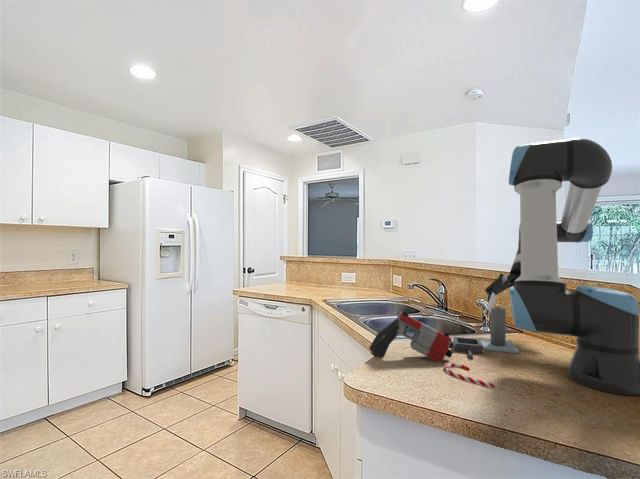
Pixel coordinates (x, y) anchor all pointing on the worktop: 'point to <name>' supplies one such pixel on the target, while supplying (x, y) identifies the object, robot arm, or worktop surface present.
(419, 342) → the toy gun
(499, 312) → the rod
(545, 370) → the worktop surface
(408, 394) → the worktop surface
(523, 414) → the worktop surface
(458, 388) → the worktop surface
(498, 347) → the slate mat
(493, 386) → the candy cane
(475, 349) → the grey recessed block
